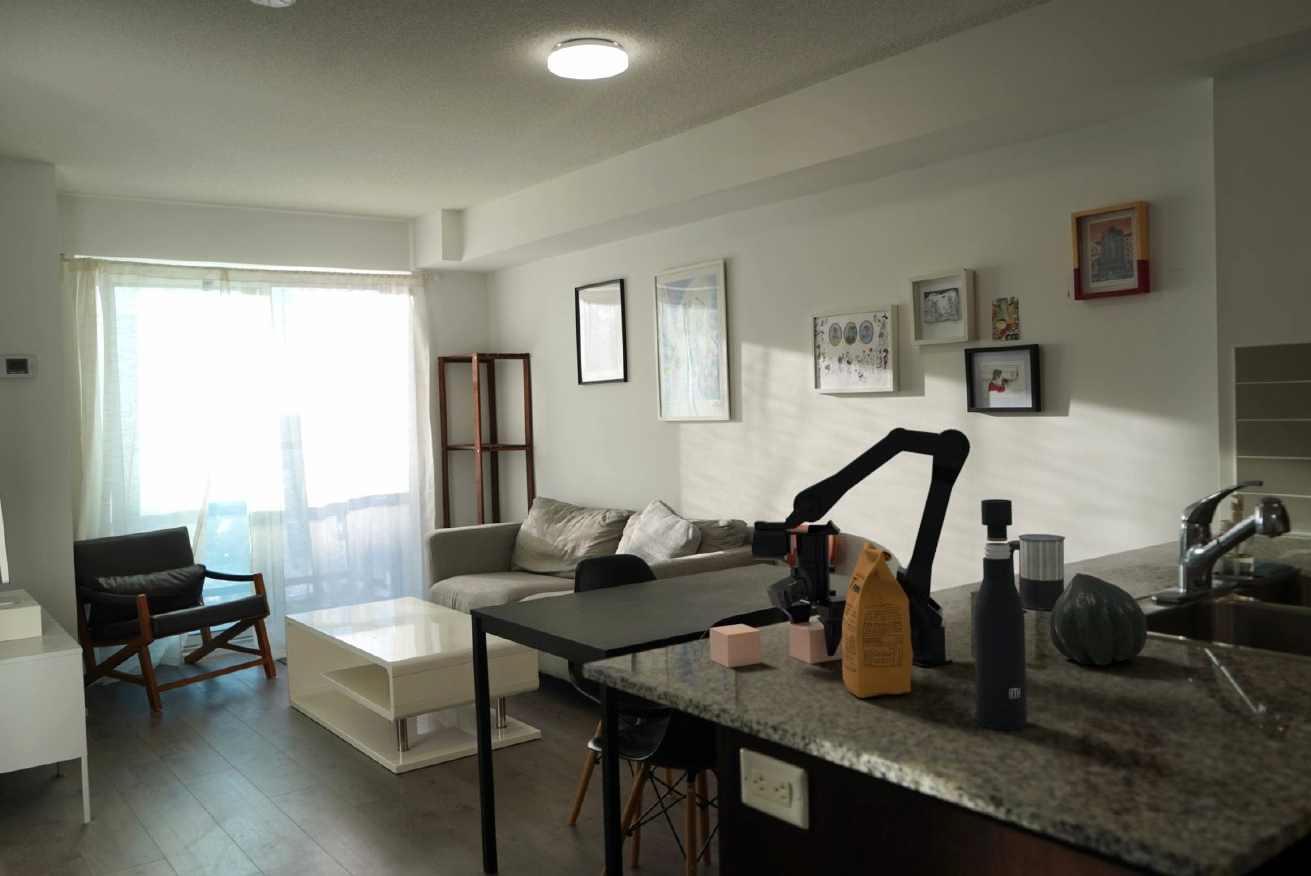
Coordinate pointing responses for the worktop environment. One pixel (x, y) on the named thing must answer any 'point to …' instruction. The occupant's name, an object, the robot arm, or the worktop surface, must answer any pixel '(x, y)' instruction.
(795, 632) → the pink rectangular prism
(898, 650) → the coffee package
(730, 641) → the pink block
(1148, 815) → the worktop surface
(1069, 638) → the squash
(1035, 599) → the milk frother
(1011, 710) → the navy water bottle
